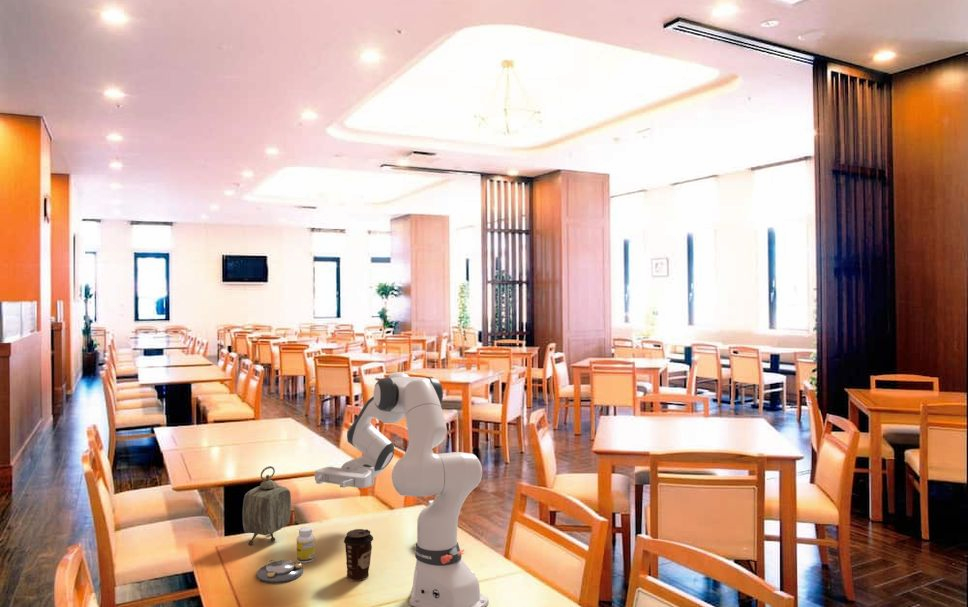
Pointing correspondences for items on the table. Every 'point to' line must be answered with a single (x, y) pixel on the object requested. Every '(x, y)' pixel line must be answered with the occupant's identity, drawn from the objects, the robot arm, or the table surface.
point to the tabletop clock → (266, 508)
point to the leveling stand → (280, 571)
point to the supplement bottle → (305, 545)
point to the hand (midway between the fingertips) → (329, 483)
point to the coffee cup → (358, 553)
